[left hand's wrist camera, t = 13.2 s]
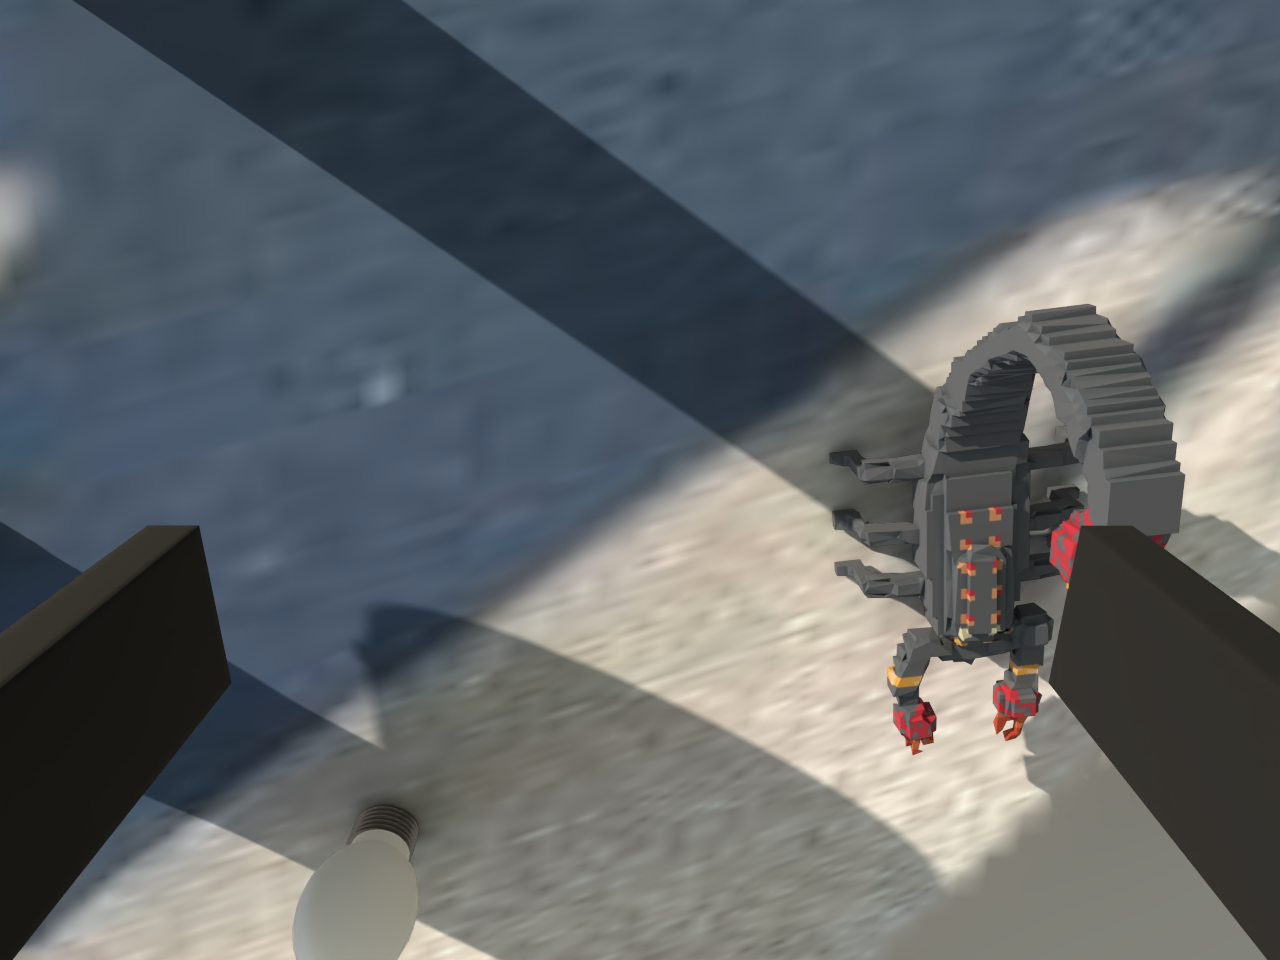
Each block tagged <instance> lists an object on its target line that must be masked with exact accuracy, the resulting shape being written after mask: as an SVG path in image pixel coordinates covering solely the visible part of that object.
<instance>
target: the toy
mask: <svg viewBox="0 0 1280 960" xmlns="http://www.w3.org/2000/svg"><path fill="white" fill-rule="evenodd" d="M1133 346H1134V344H1132V343H1129V342H1126V341H1124V340H1121V339H1120V338H1119V336H1118V335H1117V334H1116V329H1115V328H1113V327H1112V326H1111V324H1110V322H1109V320H1108V318H1106V317H1103V316H1100V315H1097V314H1096V306H1093V305H1090V304H1084V305H1075V306H1067V307H1059V308H1051V309H1042V310H1034V311H1026V312H1025V316H1020V317H1018V321H1017V322H1009V323H1001V324H999V325H998V326H997V327H996V328H994V330H993V332H988V336H984V337H982V340H979V341H977V346H974V347H973V348H972V350H967V352H966V354H965V356H962V357H954V362H951V373H949V377H947V380H946V383H945V384H944V385H943V386H940V387H937V388H936V391H935V394H934V398H933V403H932V407H931V413H930V421H929V426H928V429H927V431H926V433H925V436H924V441H923V446H922V451H921V452H922V453H921V454H915V455H909V456H903V457H896V458H880V459H865V458H863V457H862V456H861V455H860V454H859V453H858V451H857V450H852V451H843V452H835V453H830V463H832V464H837V465H841V466H849V467H850V468H851V469H852V470H853V471H854V473H855V474H856V475H857V476H858V478H859V479H860V480H861V481H862V482H863V483H864V484H872V483H880V482H888V483H889V484H892V483H898V482H904V481H910V480H913V508H914V520H913V523H909V522H896V523H878V524H870V523H869V522H867V523H865V524H864V522H863V520H862V518H861V516H860V514H859V512H857V511H855V510H854V509H849V510H840V511H832V517H833V527H834V529H835V530H853V531H854V532H856V533H857V534H858V536H859V538H860V539H861V540H862V541H863V542H865V543H866V544H868V545H869V546H871V547H872V546H883V545H893V544H904V543H909V544H913V560H914V562H915V563H916V564H917V566H918V567H919V569H920V570H921V571H916V572H908V573H878V574H873V573H871V572H870V571H869V570H867V569H866V568H865V566H864V565H863V563H862V562H861V560H851V561H842V562H835V572H836V575H837V576H853V577H854V578H855V580H856V581H857V583H858V585H859V586H860V588H861V590H862V592H863V593H864V594H865V595H866V596H867V597H868V598H892V597H910V596H920V599H921V601H922V602H923V604H924V612H925V616H926V618H927V620H928V621H929V623H930V624H931V626H932V627H930V628H916V629H908V631H907V633H905V634H903V639H904V643H900V644H897V656H893V660H894V663H893V667H887V681H888V687H889V689H890V691H891V693H892V695H893V697H896V698H897V701H898V704H894V703H893V722H894V724H895V725H896V727H897V728H898V730H899V731H900V733H901V735H903V736H904V737H905V738H906V746H910V745H911V749H912V754H913V755H915V754H917V753H920V752H922V751H921V750H918V748H919V744H920V740H921V741H922V743H923V745H926V744H930V743H934V741H933V732H934V731H936V718H937V717H936V715H935V713H934V711H933V709H932V707H931V705H930V703H929V702H923V701H922V699H921V698H920V697H919V685H920V683H921V681H922V678H923V676H924V673H925V671H926V669H927V667H928V665H929V662H930V658H931V657H939V658H940V659H941V660H942V661H949V660H953V662H963V661H964V662H967V663H969V664H971V665H972V663H973V661H974V659H975V658H980V657H986V656H991V655H997V654H1002V653H1006V652H1008V651H1010V664H1009V669H1008V670H1006V671H1004V680H999V681H996V684H995V685H994V686H993V704H994V706H995V707H996V709H997V710H998V713H997V715H996V717H995V719H994V726H995V730H996V734H998V733H999V732H1000V731H1002V729H1003V727H1004V725H1005V723H1006V721H1009V720H1014V724H1013V728H1011V729H1008V730H1005V731H1003V734H1004V738H1005V741H1007V740H1011V739H1014V738H1016V737H1017V736H1019V735H1020V734H1021V730H1022V727H1023V723H1024V722H1025V720H1026V719H1027V717H1028V716H1035V714H1036V713H1037V712H1038V704H1039V702H1040V699H1041V697H1042V695H1041V694H1040V693H1039V692H1038V667H1039V666H1043V656H1044V645H1046V644H1048V641H1050V640H1051V638H1052V630H1053V622H1054V620H1053V619H1052V618H1051V617H1050V616H1049V615H1047V612H1046V611H1044V610H1043V609H1042V608H1040V607H1039V606H1038V605H1036V604H1035V603H1029V604H1023V605H1017V606H1016V607H1015V608H1014V601H1020V584H1021V582H1022V581H1028V580H1035V579H1041V578H1045V577H1050V576H1055V575H1059V574H1061V576H1062V579H1063V580H1064V581H1065V582H1067V586H1066V588H1067V589H1068V586H1069V582H1070V577H1071V572H1072V567H1073V562H1074V557H1075V552H1076V547H1077V543H1078V538H1079V533H1080V528H1081V526H1134V527H1135V528H1136V529H1138V530H1139V531H1141V532H1142V533H1143V534H1145V535H1146V536H1147V537H1149V538H1150V539H1151V540H1153V541H1154V542H1156V543H1157V544H1158V545H1160V546H1161V547H1162V548H1164V547H1165V545H1166V544H1167V542H1168V540H1169V538H1170V535H1171V533H1178V532H1179V524H1180V515H1181V507H1182V498H1183V489H1184V481H1185V474H1183V473H1182V472H1180V464H1181V463H1180V462H1178V461H1176V460H1175V457H1176V448H1177V443H1176V442H1174V441H1172V432H1173V422H1170V421H1168V420H1166V418H1165V416H1164V412H1165V407H1166V405H1165V404H1164V403H1163V401H1162V400H1161V398H1160V397H1159V395H1158V393H1157V391H1156V389H1155V387H1152V385H1151V383H1150V380H1151V377H1150V375H1149V374H1148V372H1147V370H1146V368H1145V365H1144V363H1143V360H1142V358H1141V357H1140V356H1139V355H1138V354H1136V353H1135V352H1134V351H1133ZM1035 373H1039V374H1040V375H1041V377H1042V379H1043V381H1044V383H1045V385H1046V387H1047V388H1048V389H1049V390H1050V391H1051V394H1052V397H1053V401H1054V406H1055V412H1056V418H1058V419H1059V420H1060V421H1062V422H1063V423H1065V424H1066V425H1067V426H1059V427H1056V436H1055V437H1053V438H1054V439H1055V443H1056V444H1052V445H1048V446H1041V447H1032V448H1029V440H1028V438H1027V437H1026V436H1025V434H1024V433H1023V430H1024V426H1025V421H1026V417H1027V412H1028V406H1029V401H1030V397H1031V392H1032V387H1033V383H1034V378H1035ZM1080 462H1082V463H1083V474H1084V476H1085V478H1086V480H1087V483H1088V500H1087V509H1084V506H1083V505H1082V504H1081V503H1079V502H1078V501H1077V500H1076V498H1078V497H1079V491H1080V489H1079V488H1078V487H1076V486H1075V485H1074V484H1071V485H1062V486H1053V487H1047V497H1048V498H1049V499H1050V500H1051V502H1045V503H1039V504H1033V505H1030V470H1034V469H1041V468H1048V467H1055V466H1062V465H1068V464H1074V463H1080ZM1055 525H1059V528H1057V529H1055V530H1054V531H1052V535H1049V536H1047V542H1048V547H1049V548H1050V552H1049V553H1042V554H1034V555H1029V531H1037V530H1045V529H1047V528H1049V527H1051V526H1055Z"/></svg>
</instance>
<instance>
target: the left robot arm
mask: <svg viewBox="0 0 1280 960" xmlns="http://www.w3.org/2000/svg"><path fill="white" fill-rule="evenodd" d="M230 684H231V679H230V674H229V669H228V665H227V660H226V655H225V650H224V645H223V640H222V635H221V630H220V625H219V621H218V616H217V611H216V606H215V601H214V596H213V591H212V586H211V582H210V577H209V572H208V567H207V562H206V557H205V552H204V547H203V543H202V538H201V533H200V528H199V526H146V527H145V528H144V529H142V530H141V531H139V532H138V533H137V534H135V535H134V536H133V537H131V538H130V539H129V540H127V541H126V542H124V543H123V544H122V545H120V546H119V547H118V548H116V549H115V550H113V551H112V552H111V553H109V554H108V555H107V556H105V557H104V558H103V559H101V560H100V561H98V562H97V563H96V564H94V565H93V566H92V567H90V568H89V569H88V570H86V571H85V572H83V573H82V574H81V575H79V576H78V577H77V578H75V579H74V580H72V581H71V582H70V583H68V584H67V585H66V586H64V587H63V588H62V589H60V590H59V591H57V592H56V593H55V594H53V595H52V596H51V597H49V598H48V599H47V600H45V601H44V602H42V603H41V604H40V605H38V606H37V607H36V608H34V609H33V610H31V611H30V612H29V613H27V614H26V615H25V616H23V617H22V618H21V619H19V620H18V621H16V622H15V623H14V624H12V625H11V626H10V627H8V628H7V629H5V630H4V631H3V632H1V633H0V960H13V959H14V957H15V956H16V955H17V953H18V952H19V951H20V950H21V948H22V947H23V946H24V945H25V943H26V942H27V941H28V940H29V938H30V937H31V936H32V934H33V933H34V932H35V931H36V929H37V928H38V927H39V926H40V924H41V923H42V922H43V921H44V919H45V918H46V917H47V916H48V914H49V913H50V912H51V910H52V909H53V908H54V907H55V905H56V904H57V903H58V902H59V900H60V899H61V898H62V897H63V895H64V894H65V893H66V891H67V890H68V889H69V888H70V886H71V885H72V884H73V883H74V881H75V880H76V879H77V878H78V876H79V875H80V874H81V872H82V871H83V870H84V869H85V867H86V866H87V865H88V864H89V862H90V861H91V860H92V859H93V857H94V856H95V855H96V853H97V852H98V851H99V850H100V848H101V847H102V846H103V845H104V843H105V842H106V841H107V840H108V838H109V837H110V836H111V834H112V833H113V832H114V831H115V829H116V828H117V827H118V826H119V824H120V823H121V822H122V821H123V819H124V818H125V817H126V815H127V814H128V813H129V812H130V810H131V809H132V808H133V807H134V805H135V804H136V803H137V802H138V800H139V799H140V798H141V796H142V795H143V794H144V793H145V791H146V790H147V789H148V788H149V786H150V785H151V784H152V783H153V781H154V780H155V779H156V778H157V776H158V775H159V774H160V772H161V771H162V770H163V769H164V767H165V766H166V765H167V764H168V762H169V761H170V760H171V759H172V757H173V756H174V755H175V753H176V752H177V751H178V750H179V748H180V747H181V746H182V745H183V743H184V742H185V741H186V740H187V738H188V737H189V736H190V734H191V733H192V732H193V731H194V729H195V728H196V727H197V726H198V724H199V723H200V722H201V721H202V719H203V718H204V717H205V715H206V714H207V713H208V712H209V710H210V709H211V708H212V707H213V705H214V704H215V703H216V702H217V700H218V699H219V698H220V696H221V695H222V694H223V693H224V691H225V690H226V689H227V688H228V686H229V685H230ZM1049 684H1050V685H1051V686H1052V688H1053V689H1054V690H1055V691H1056V693H1057V694H1058V695H1059V696H1060V698H1061V699H1062V700H1063V702H1064V703H1065V704H1066V705H1067V707H1068V708H1069V709H1070V710H1071V712H1072V713H1073V714H1074V715H1075V717H1076V718H1077V719H1078V721H1079V722H1080V723H1081V724H1082V726H1083V727H1084V728H1085V729H1086V731H1087V732H1088V733H1089V734H1090V736H1091V737H1092V738H1093V740H1094V741H1095V742H1096V743H1097V745H1098V746H1099V747H1100V748H1101V750H1102V751H1103V752H1104V753H1105V755H1106V756H1107V757H1108V759H1109V760H1110V761H1111V762H1112V764H1113V765H1114V766H1115V767H1116V769H1117V770H1118V771H1119V772H1120V774H1121V775H1122V776H1123V778H1124V779H1125V780H1126V781H1127V783H1128V784H1129V785H1130V786H1131V788H1132V789H1133V790H1134V791H1135V793H1136V794H1137V795H1138V796H1139V798H1140V799H1141V800H1142V802H1143V803H1144V804H1145V805H1146V807H1147V808H1148V809H1149V810H1150V812H1151V813H1152V814H1153V815H1154V817H1155V818H1156V819H1157V821H1158V822H1159V823H1160V824H1161V826H1162V827H1163V828H1164V829H1165V831H1166V832H1167V833H1168V834H1169V836H1170V837H1171V838H1172V840H1173V841H1174V842H1175V843H1176V845H1177V846H1178V847H1179V848H1180V850H1181V851H1182V852H1183V853H1184V855H1185V856H1186V857H1187V859H1188V860H1189V861H1190V862H1191V864H1192V865H1193V866H1194V867H1195V869H1196V870H1197V871H1198V872H1199V874H1200V875H1201V876H1202V878H1203V879H1204V880H1205V881H1206V883H1207V884H1208V885H1209V886H1210V888H1211V889H1212V890H1213V891H1214V893H1215V894H1216V895H1217V896H1218V898H1219V899H1220V900H1221V902H1222V903H1223V904H1224V905H1225V907H1226V908H1227V909H1228V910H1229V912H1230V913H1231V914H1232V916H1233V917H1234V918H1235V919H1236V921H1237V922H1238V923H1239V924H1240V926H1241V927H1242V928H1243V929H1244V931H1245V932H1246V933H1247V935H1248V936H1249V937H1250V938H1251V940H1252V941H1253V942H1254V943H1255V945H1256V946H1257V947H1258V948H1259V950H1260V951H1261V952H1262V953H1263V955H1264V956H1265V957H1266V959H1267V960H1280V633H1279V632H1277V631H1276V630H1275V629H1273V628H1272V627H1270V626H1269V625H1268V624H1266V623H1265V622H1264V621H1262V620H1261V619H1259V618H1258V617H1257V616H1255V615H1254V614H1253V613H1251V612H1250V611H1249V610H1247V609H1246V608H1244V607H1243V606H1242V605H1240V604H1239V603H1238V602H1236V601H1235V600H1233V599H1232V598H1231V597H1229V596H1228V595H1227V594H1225V593H1224V592H1223V591H1221V590H1220V589H1218V588H1217V587H1216V586H1214V585H1213V584H1212V583H1210V582H1209V581H1208V580H1206V579H1205V578H1203V577H1202V576H1201V575H1199V574H1198V573H1197V572H1195V571H1194V570H1192V569H1191V568H1190V567H1188V566H1187V565H1186V564H1184V563H1183V562H1182V561H1180V560H1179V559H1177V558H1176V557H1175V556H1173V555H1172V554H1171V553H1169V552H1168V551H1167V550H1165V549H1164V548H1162V547H1161V546H1160V545H1158V544H1157V543H1156V542H1154V541H1153V540H1151V539H1150V538H1149V537H1147V536H1146V535H1145V534H1143V533H1142V532H1141V531H1139V530H1138V529H1136V528H1135V527H1134V526H1081V528H1080V533H1079V538H1078V543H1077V547H1076V552H1075V557H1074V562H1073V567H1072V572H1071V577H1070V582H1069V586H1068V591H1067V596H1066V601H1065V606H1064V611H1063V616H1062V621H1061V625H1060V630H1059V635H1058V640H1057V645H1056V650H1055V655H1054V660H1053V665H1052V669H1051V674H1050V679H1049Z"/></svg>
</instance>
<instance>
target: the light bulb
mask: <svg viewBox="0 0 1280 960" xmlns="http://www.w3.org/2000/svg"><path fill="white" fill-rule="evenodd" d="M418 833H419V831H418V826H417V823H416V822H415V820H414V819H413V818H412V817H411V816H410V815H409V814H407V813H406V812H404V811H402V810H399V809H396V808H393V807H387V806H379V807H373V808H370V809H367V810H365V811H364V812H362V813H361V814H360V815H359V816H358V818H357V820H356V823H355V825H354V827H353V829H352V832H351V834H350V836H349V838H348V841H347V843H346V847H344V848H341V849H339V850H338V851H337V852H335V853H334V854H333V855H331V856H330V857H329V858H328V859H326V860H325V861H324V862H323V863H322V864H321V866H320V867H319V868H318V869H317V870H316V871H315V873H314V874H313V875H312V876H311V878H310V880H309V881H308V883H307V885H306V887H305V888H304V890H303V892H302V894H301V897H300V899H299V902H298V905H297V908H296V912H295V917H294V923H293V929H292V931H293V949H294V953H295V956H296V960H397V959H398V958H399V956H400V954H401V953H402V951H403V949H404V948H405V946H406V944H407V943H408V941H409V938H410V936H411V933H412V931H413V928H414V924H415V921H416V916H417V911H418V886H417V881H416V876H415V872H414V870H413V868H412V867H411V865H410V860H411V856H412V854H413V851H414V847H415V845H416V842H417V838H418Z"/></svg>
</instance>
